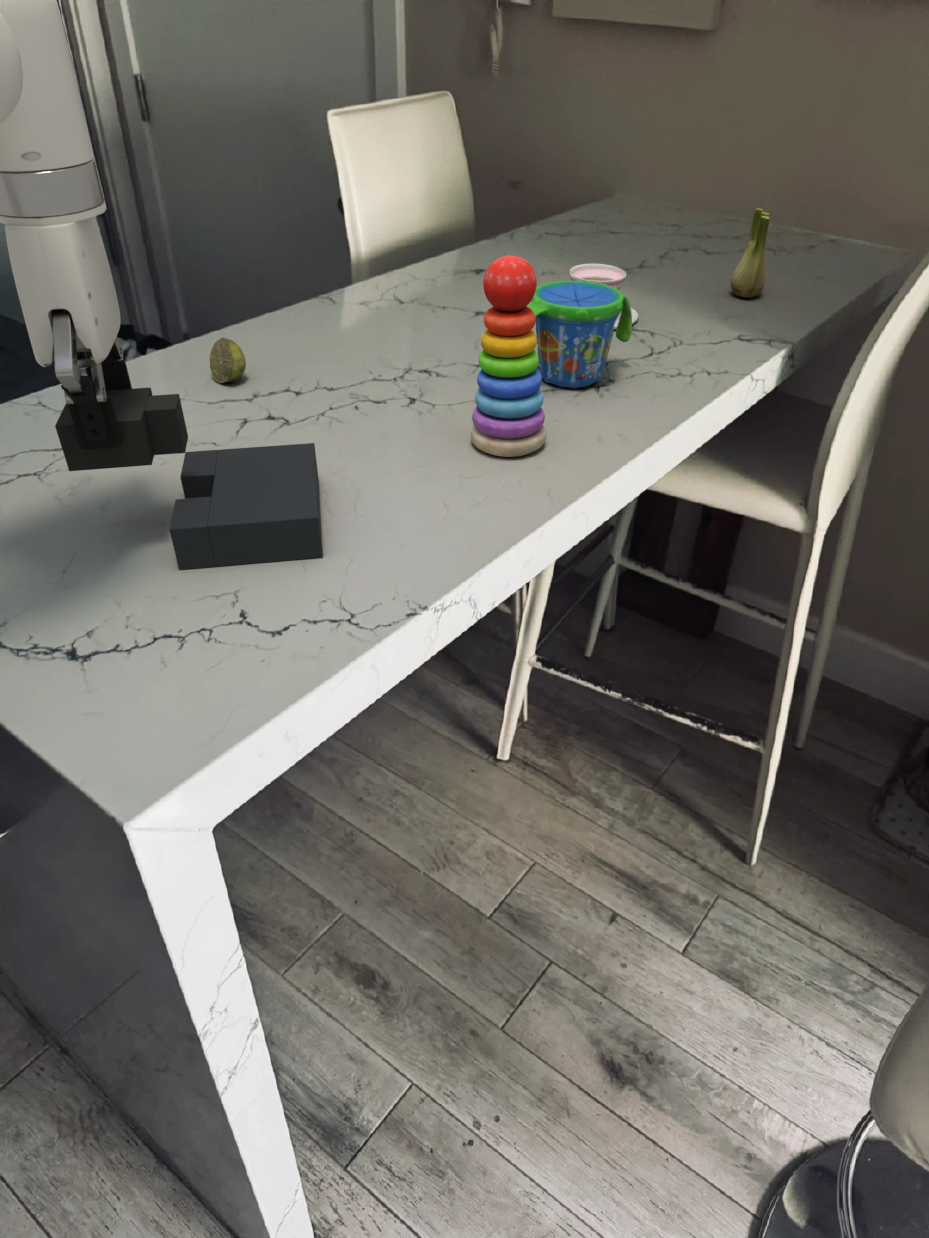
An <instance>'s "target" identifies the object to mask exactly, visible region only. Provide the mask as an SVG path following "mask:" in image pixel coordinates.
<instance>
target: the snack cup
mask: <svg viewBox="0 0 929 1238" xmlns="http://www.w3.org/2000/svg"><path fill="white" fill-rule="evenodd" d="M527 307H529V308H530V309H532V310H533V312H534V313H535V316H536V322H535V335H536V337H537V345H536V347H537V354H538V357H539V364H538V366H539V371H540V373H541V376H542V379H543V381H544V382H545V383H548V384H552V385H555V386H556V387H557V386H558V387H563V388H572V389H578V388H583V387H584V388H585V387H587V386H591V385H593V384H594V383H596V384H597V383H600V382H601V379H602V377H603V374H604V372H605V368H606V364H607V363H606V362H607V361H608V356H609V353H610V349H611V345H612V340H613V336H614V330H615V337H616V339H618V340H619V341H620V342H622V343H627V342H629V341H630V339H631V336H632V333H633V324H632V312H631V308H632V307H631V303H630V301H629V299H628V297H627V296H625V295H624V294H623V293H622V292H621V291H620V289H619V290H617V289H616V288H613V287H611V286H608V285H604V284H600V283H595V282H587V281H572V280H559V281H558V280H557V281H551V282H546V283H544V284H541V285H538V286H537V287H536V291H535V294H534V297H533V299H532V300H531V302H530V303H529V304H528V305H527ZM620 312H621V316H620V319H619V323H618V326H617V329H614V325H615V322H616V319H617V317H618V315H619V314H620Z"/></svg>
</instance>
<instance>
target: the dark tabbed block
mask: <svg viewBox="0 0 929 1238" xmlns="http://www.w3.org/2000/svg"><path fill="white" fill-rule="evenodd" d="M106 397H112V400H113V404H114V408H115V412H116V415H117V419H118V423H119V427H120V430H121V434H122V438H123V443H122V445H121V446H120V447H114V448H101V449H87V450H86V449H83V448H81V446H80V444H79V440H78V437H77V434H76V431H75V427H74V424H73V421H72V417H71V414H70V411H69V407H68V404H67V402H66V401H65V404H64V406H63V409H62V411H61V412H60V415H59V417H58V418H57V421H56V423H55V425H54V427H55V431H56V433H57V438H58V439H59V443H60V446H61V449H62V453H63V456H64V459H65V462H66V466H67V468H68V471H69V472H78V471H91V470H93V471H94V470H105V469H117V468H118V469H119V468H130V467H144V466H145V467H147V466H152V465H153V461H154V458H155V456H163V455H174V454H175V455H176V454H185V452H187V445H188V440H189V433H188V429H187V425H186V421H185V415H184V411H183V406H182V402H181V401H182V400H181V397H180V393H170V394H156V395H155V394H153V391H152V388H151V387H137V388H132V389H119V390H106Z"/></svg>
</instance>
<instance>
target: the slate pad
mask: <svg viewBox="0 0 929 1238" xmlns="http://www.w3.org/2000/svg"><path fill="white" fill-rule="evenodd" d="M318 471H319V469H318V462H317V453H316V445H315V442H307V443H296V444H295V443H294V444H281V445H280V444H279V445H266V446H252V447H237V448H222V449H208V450H207V449H206V450H195V451H194V450H193V451H185V453H184V457H183V463H182V466H181V472H180V476H179V478H180V482H181V483H180V484H181V486H182V487H181V488H182V491H183V495H184V496H183V497H184V498H176V499H175V501H174V506H173V509H172V510H173V511H172V515H171V519H170V520H171V521H170V525H169V533H170V537H171V543H172V546H173V550H174V555H175V559H176V563H177V567H178V570H179V571H183V570H195V569H203V568H204V569H206V568H215V567H226V566H227V567H228V566H239V565H253V564H261V563H262V564H263V563H274V562H286V561H296V560H297V561H298V560H310V559H320V558H324V553H323V552H324V551H323V536H322V535H323V534H322V517H321V516H322V515H321V514H322V513H321V498H320V480H319V472H318Z"/></svg>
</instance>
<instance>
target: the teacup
mask: <svg viewBox="0 0 929 1238" xmlns="http://www.w3.org/2000/svg"><path fill="white" fill-rule="evenodd" d="M568 276H569V278H570V281H587V282H595V283H600V284H604V285H608V286H611V287H613V288H616V289H617V290H619V291H620V289H621V287H620V286H621V285H622V284H623V283H624V281H625V280H626V278H627V272H626V271H625V270H624V269H622V268H620V267H618V266H614V265H612V264H611V265H610V264H604V263H582V264H576V265H574V266H572V267H571V268H570V269H569V275H568ZM631 312H632V325H634V324H635V323H636V322H638V320H639V313H638V311H637V310H636V309H634V308H633V307H631ZM620 316H621V312H620V314H619V315H618V317H617V319H616V322H615V325H614V330H616V329H617V326H618V323H619V319H620Z"/></svg>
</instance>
